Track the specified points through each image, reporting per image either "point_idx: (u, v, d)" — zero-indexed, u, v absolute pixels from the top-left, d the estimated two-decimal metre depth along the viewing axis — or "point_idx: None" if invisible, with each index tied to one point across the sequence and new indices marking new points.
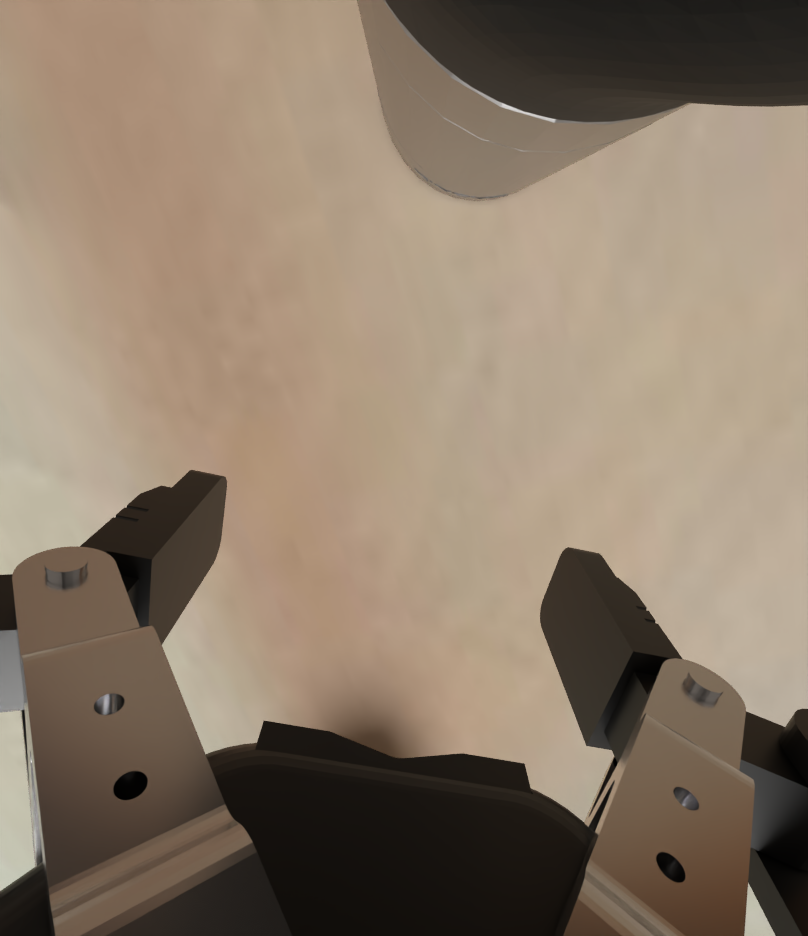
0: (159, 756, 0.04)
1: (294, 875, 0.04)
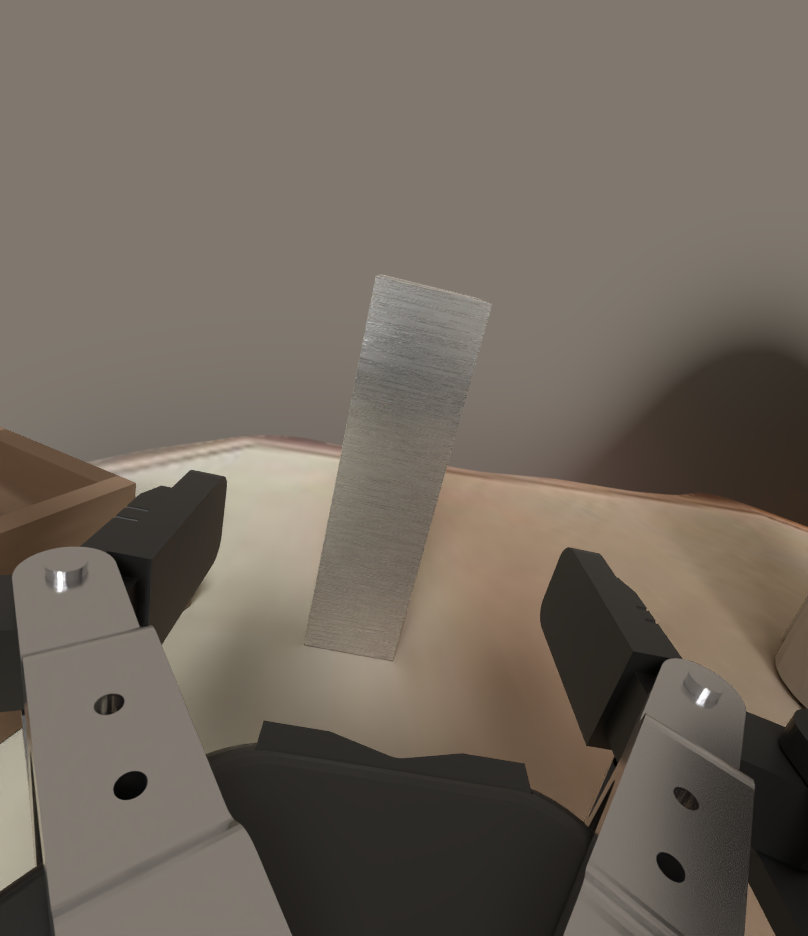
0: (159, 756, 0.04)
1: (294, 875, 0.04)
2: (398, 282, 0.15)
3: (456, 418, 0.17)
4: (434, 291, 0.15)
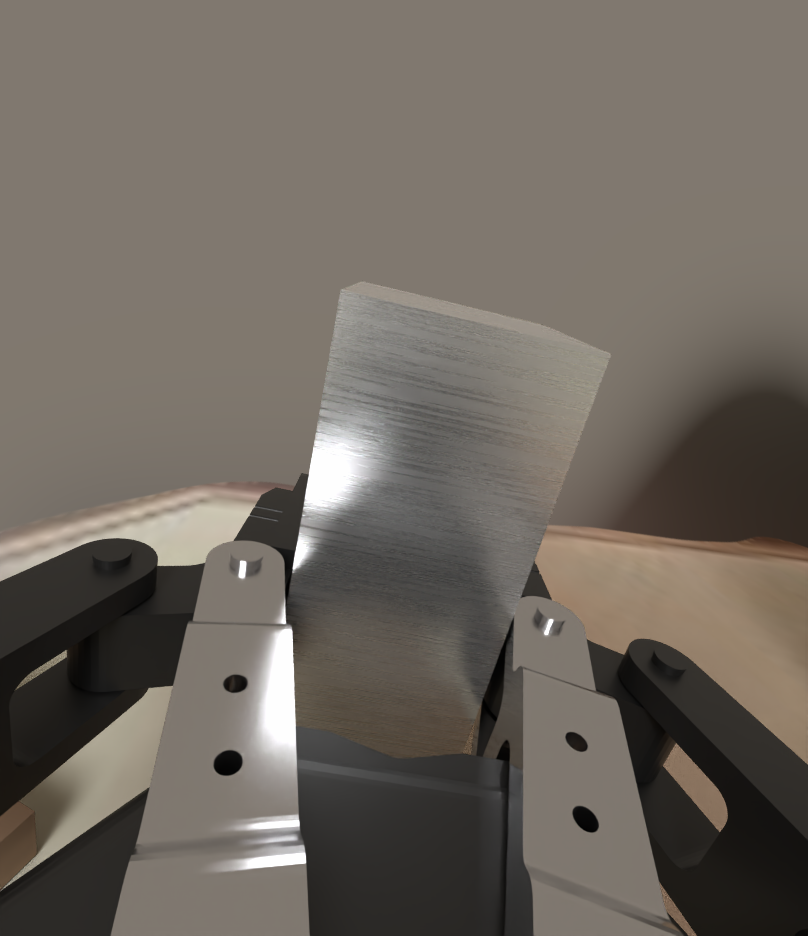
0: (258, 745, 0.05)
1: None
2: (395, 304, 0.07)
3: (517, 585, 0.08)
4: (479, 325, 0.07)
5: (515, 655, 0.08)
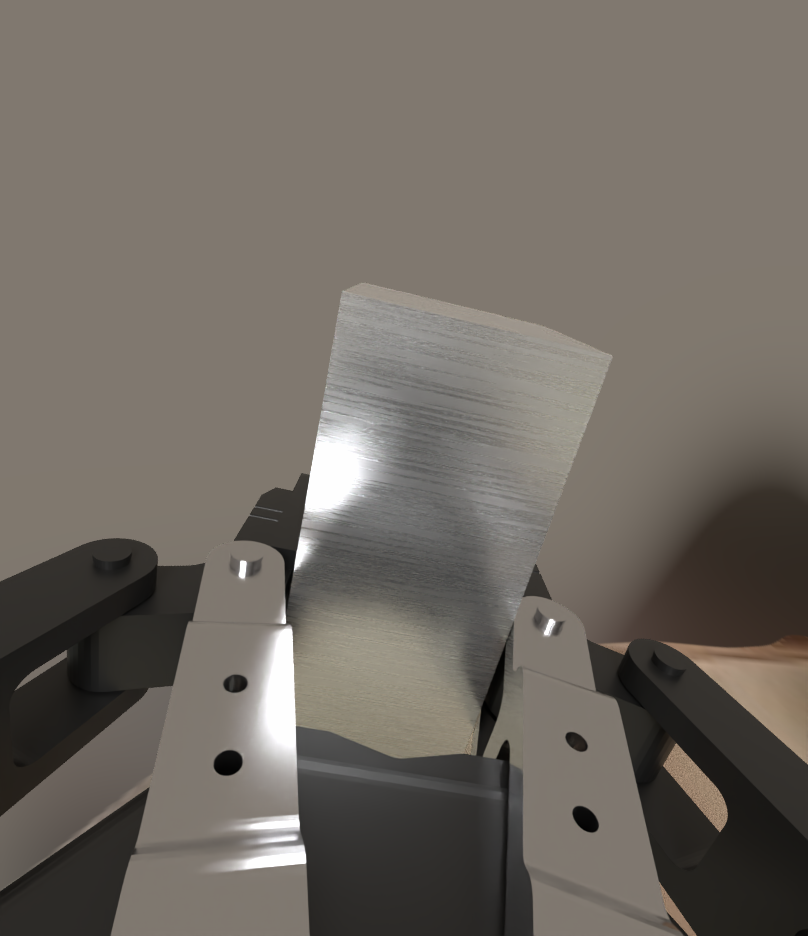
0: (258, 745, 0.05)
1: None
2: (396, 306, 0.07)
3: (518, 587, 0.08)
4: (480, 327, 0.07)
5: (515, 655, 0.08)
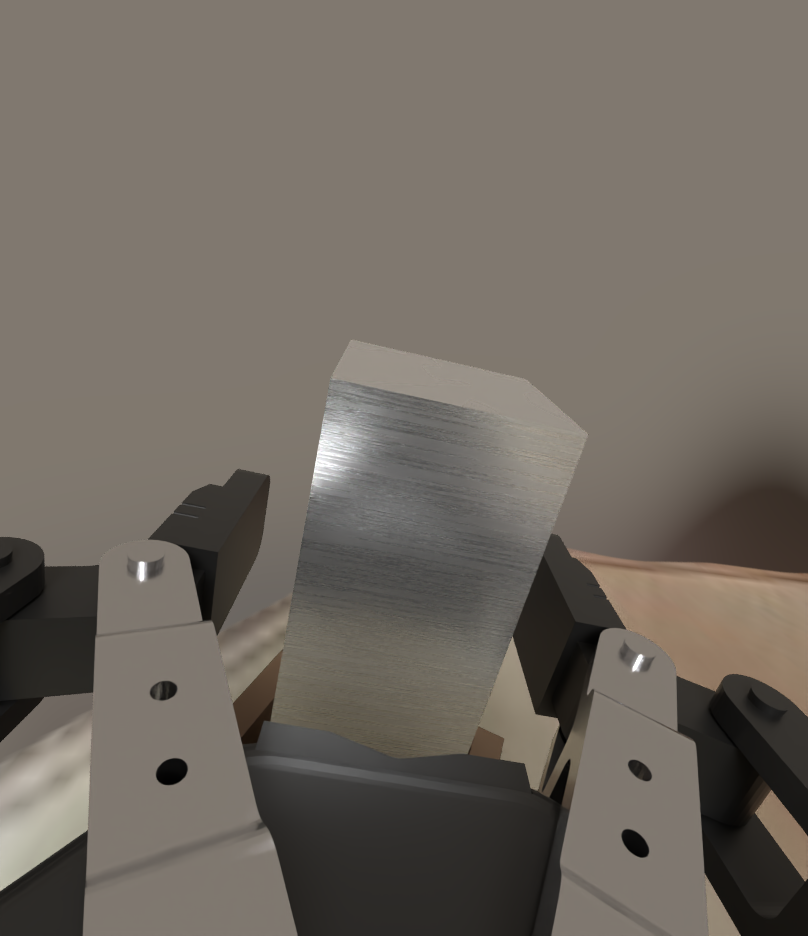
0: (201, 747, 0.05)
1: (294, 875, 0.04)
2: (382, 390, 0.07)
3: (502, 643, 0.08)
4: (463, 409, 0.07)
5: (614, 697, 0.07)
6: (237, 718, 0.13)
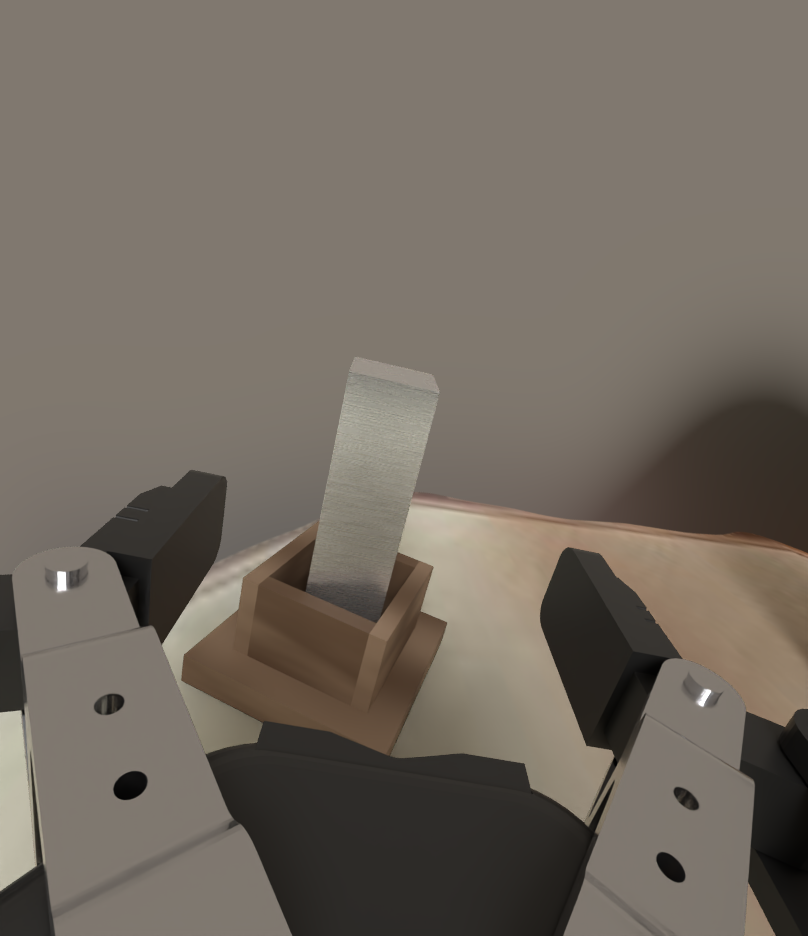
0: (159, 756, 0.04)
1: (294, 875, 0.04)
2: (367, 376, 0.20)
3: (414, 477, 0.21)
4: (395, 382, 0.20)
5: (689, 739, 0.07)
6: (294, 546, 0.26)
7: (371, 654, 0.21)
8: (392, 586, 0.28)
